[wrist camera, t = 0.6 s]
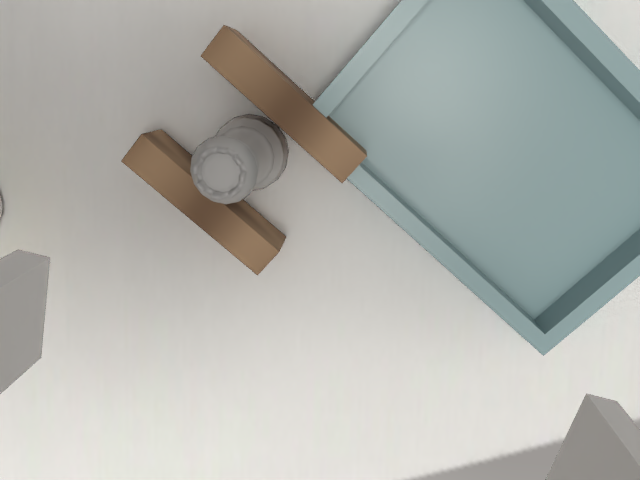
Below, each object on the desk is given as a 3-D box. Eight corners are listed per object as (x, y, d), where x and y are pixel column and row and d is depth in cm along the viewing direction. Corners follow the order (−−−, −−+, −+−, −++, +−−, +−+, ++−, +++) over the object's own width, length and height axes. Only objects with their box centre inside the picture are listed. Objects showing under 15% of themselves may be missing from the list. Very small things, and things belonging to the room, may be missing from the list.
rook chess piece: (229, 102, 31) (186, 109, 23) (299, 130, 31) (280, 146, 23) (206, 171, 32) (159, 199, 24) (274, 198, 32) (248, 235, 25)
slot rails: (142, 153, 32) (121, 161, 29) (237, 30, 30) (223, 25, 27) (266, 258, 33) (257, 275, 31) (366, 149, 31) (367, 156, 28)
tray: (297, 125, 31) (291, 128, 28) (471, -79, 27) (482, -96, 25) (529, 335, 34) (543, 355, 31) (716, 176, 30) (748, 185, 28)
